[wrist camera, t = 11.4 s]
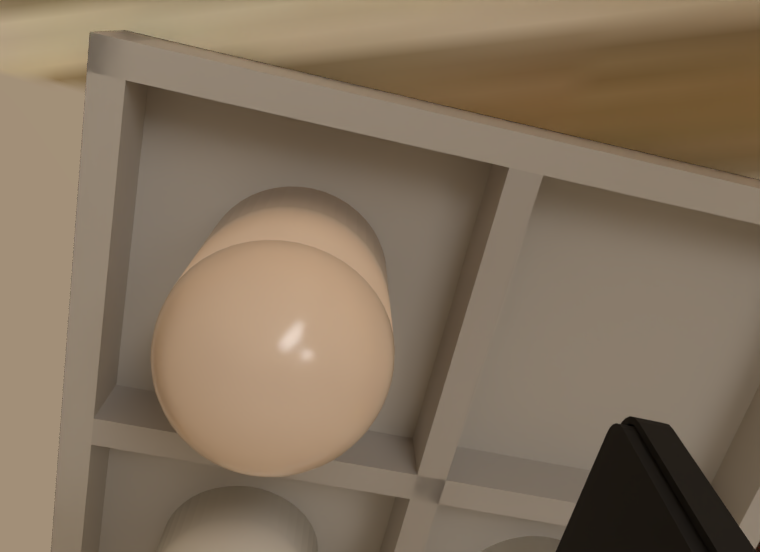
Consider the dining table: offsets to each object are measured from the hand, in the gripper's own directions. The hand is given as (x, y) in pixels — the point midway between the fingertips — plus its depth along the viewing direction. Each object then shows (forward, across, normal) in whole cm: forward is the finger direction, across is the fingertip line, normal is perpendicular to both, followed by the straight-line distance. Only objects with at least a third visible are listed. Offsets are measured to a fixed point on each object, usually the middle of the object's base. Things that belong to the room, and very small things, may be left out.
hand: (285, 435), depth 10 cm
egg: (+8, +1, +1) cm, 8 cm away
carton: (+9, -4, +6) cm, 11 cm away
